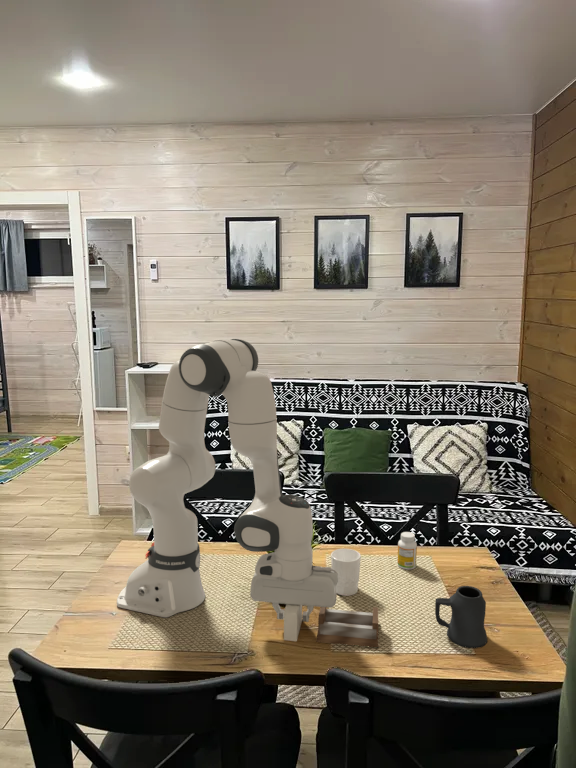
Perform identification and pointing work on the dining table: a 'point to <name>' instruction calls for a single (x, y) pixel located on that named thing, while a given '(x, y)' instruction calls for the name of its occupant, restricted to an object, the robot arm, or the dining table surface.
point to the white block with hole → (292, 621)
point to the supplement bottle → (407, 551)
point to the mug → (465, 617)
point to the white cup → (346, 570)
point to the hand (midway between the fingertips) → (293, 619)
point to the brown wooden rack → (348, 627)
